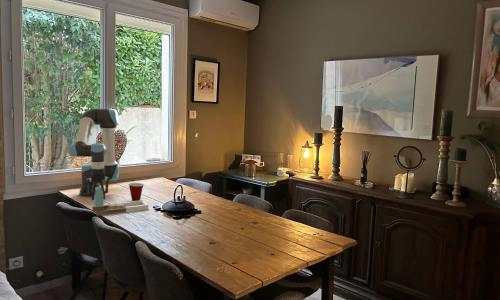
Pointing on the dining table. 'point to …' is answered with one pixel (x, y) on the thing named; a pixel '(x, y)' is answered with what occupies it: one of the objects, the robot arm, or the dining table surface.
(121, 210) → the channel board
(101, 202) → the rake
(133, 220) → the dining table surface
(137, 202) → the tray
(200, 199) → the dining table surface
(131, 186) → the plastic cup
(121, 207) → the cube
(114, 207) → the cube
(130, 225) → the dining table surface
